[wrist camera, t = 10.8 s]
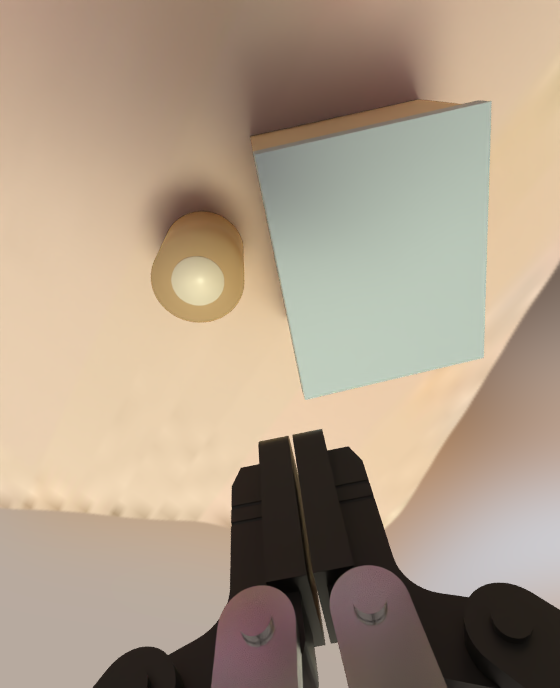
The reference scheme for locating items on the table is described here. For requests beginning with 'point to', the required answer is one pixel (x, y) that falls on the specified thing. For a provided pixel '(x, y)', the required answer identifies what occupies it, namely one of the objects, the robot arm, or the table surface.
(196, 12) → the table surface
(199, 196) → the table surface
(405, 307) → the lid
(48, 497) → the table surface
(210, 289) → the tan cylinder cream top
